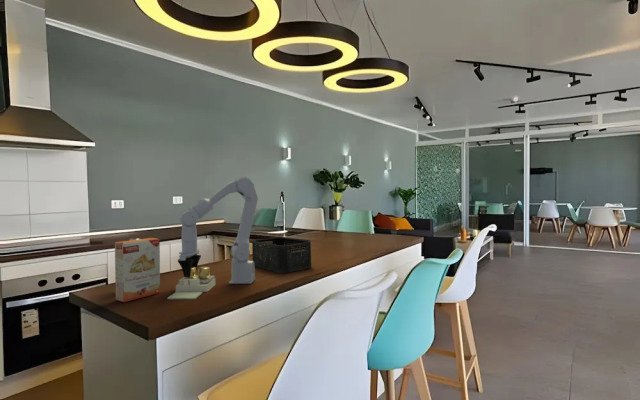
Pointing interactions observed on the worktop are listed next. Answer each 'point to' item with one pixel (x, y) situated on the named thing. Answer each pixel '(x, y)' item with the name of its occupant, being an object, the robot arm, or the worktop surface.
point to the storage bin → (282, 254)
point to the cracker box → (137, 268)
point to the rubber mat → (185, 295)
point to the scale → (195, 285)
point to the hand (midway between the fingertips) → (190, 275)
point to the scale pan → (201, 279)
